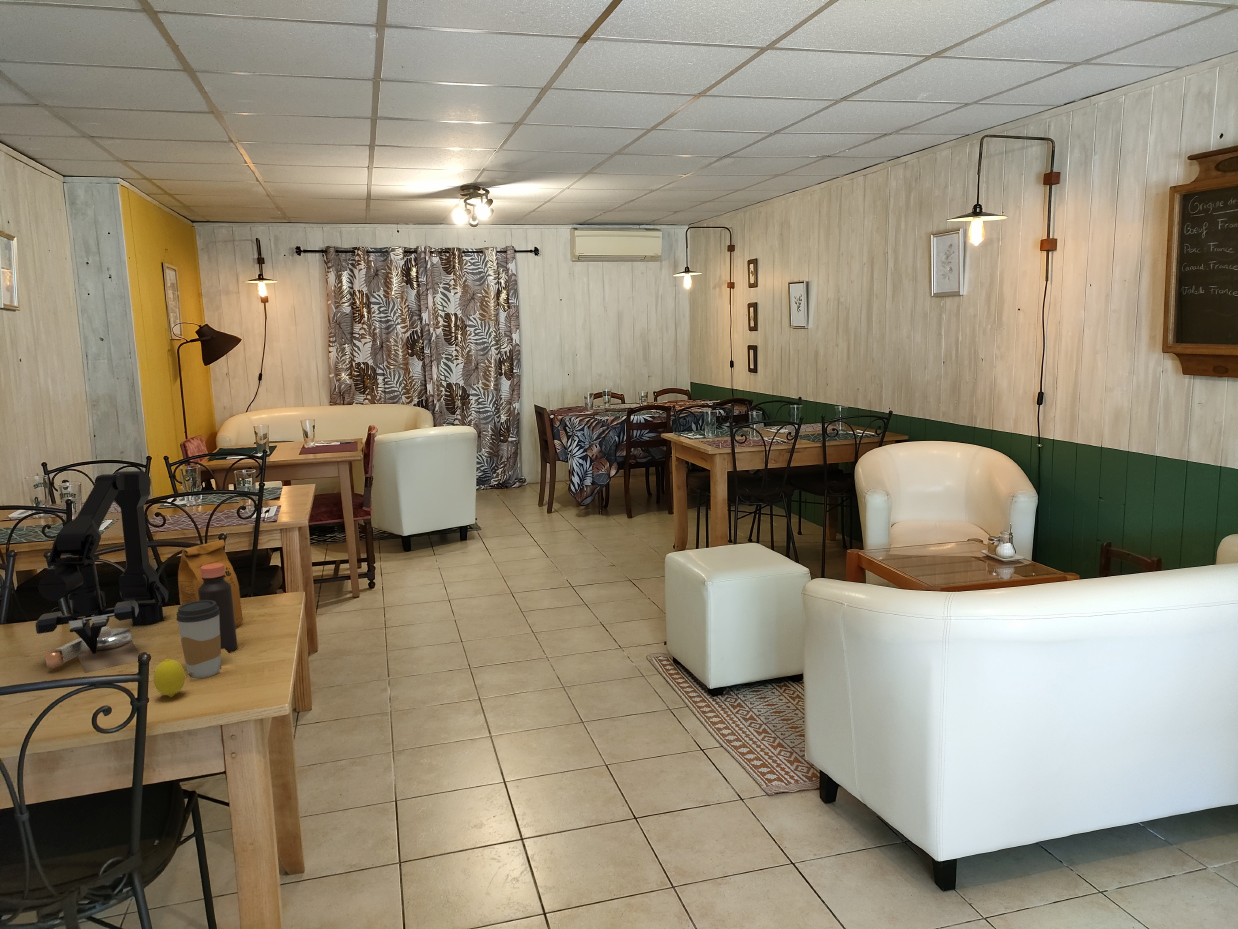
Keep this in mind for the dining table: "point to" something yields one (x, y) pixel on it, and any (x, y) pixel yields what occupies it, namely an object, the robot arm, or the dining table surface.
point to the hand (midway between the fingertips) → (94, 653)
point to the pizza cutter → (78, 646)
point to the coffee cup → (200, 637)
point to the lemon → (169, 677)
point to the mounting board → (109, 657)
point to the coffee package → (192, 574)
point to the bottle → (220, 602)
